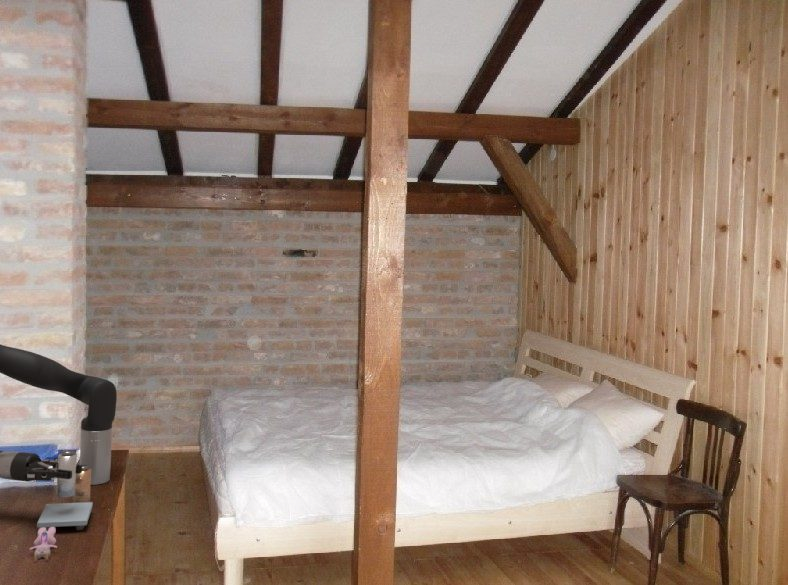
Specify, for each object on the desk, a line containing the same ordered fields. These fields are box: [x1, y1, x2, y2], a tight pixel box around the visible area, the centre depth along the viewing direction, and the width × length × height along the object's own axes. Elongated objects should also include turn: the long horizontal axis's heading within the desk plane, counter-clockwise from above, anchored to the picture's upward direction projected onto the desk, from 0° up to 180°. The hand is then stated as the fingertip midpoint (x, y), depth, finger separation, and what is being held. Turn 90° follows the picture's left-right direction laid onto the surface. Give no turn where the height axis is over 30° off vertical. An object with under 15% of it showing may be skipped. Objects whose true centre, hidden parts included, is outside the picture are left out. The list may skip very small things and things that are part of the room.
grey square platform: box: [36, 501, 94, 531], centre depth 197 cm, size 14×12×3 cm
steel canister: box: [55, 449, 78, 498], centre depth 196 cm, size 5×5×12 cm
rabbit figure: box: [29, 527, 58, 563], centre depth 180 cm, size 6×6×15 cm
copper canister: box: [72, 465, 92, 503], centre depth 209 cm, size 5×5×12 cm
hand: (76, 472), depth 196 cm, fingers closed on steel canister, 4 cm apart
